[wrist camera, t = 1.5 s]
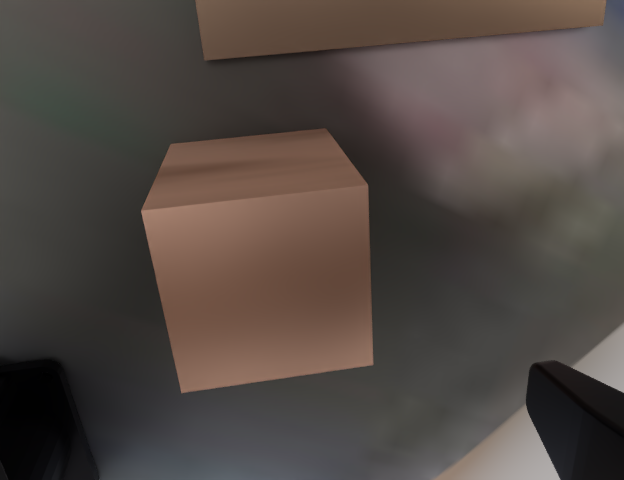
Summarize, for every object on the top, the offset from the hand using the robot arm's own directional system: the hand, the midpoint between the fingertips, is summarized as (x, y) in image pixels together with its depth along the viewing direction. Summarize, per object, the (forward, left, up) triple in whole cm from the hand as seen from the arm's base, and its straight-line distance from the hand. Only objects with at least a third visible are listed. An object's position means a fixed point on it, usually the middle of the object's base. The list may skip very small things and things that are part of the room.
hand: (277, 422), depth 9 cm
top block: (0, 0, -10) cm, 10 cm away
